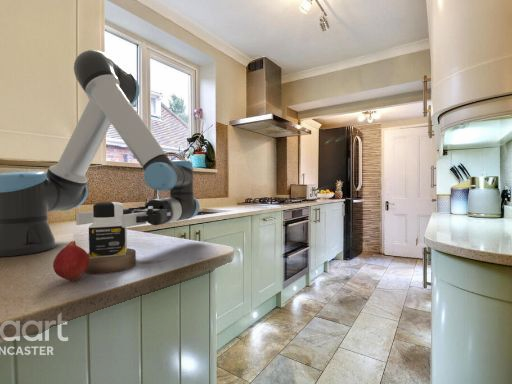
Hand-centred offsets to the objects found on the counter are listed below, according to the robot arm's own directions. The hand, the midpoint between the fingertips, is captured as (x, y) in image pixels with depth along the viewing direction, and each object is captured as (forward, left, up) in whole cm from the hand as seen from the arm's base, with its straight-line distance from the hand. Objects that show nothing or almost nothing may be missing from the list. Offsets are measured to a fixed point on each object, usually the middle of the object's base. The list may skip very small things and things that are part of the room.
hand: (99, 220), depth 60 cm
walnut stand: (-2, +1, -11) cm, 11 cm away
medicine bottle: (-2, +1, -8) cm, 9 cm away
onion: (+7, -3, -11) cm, 14 cm away
